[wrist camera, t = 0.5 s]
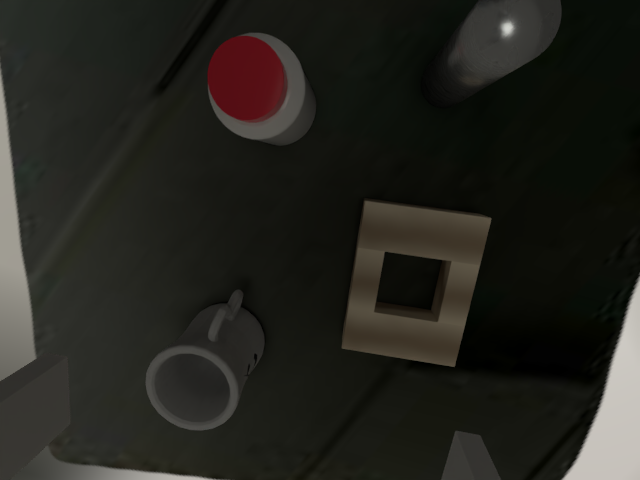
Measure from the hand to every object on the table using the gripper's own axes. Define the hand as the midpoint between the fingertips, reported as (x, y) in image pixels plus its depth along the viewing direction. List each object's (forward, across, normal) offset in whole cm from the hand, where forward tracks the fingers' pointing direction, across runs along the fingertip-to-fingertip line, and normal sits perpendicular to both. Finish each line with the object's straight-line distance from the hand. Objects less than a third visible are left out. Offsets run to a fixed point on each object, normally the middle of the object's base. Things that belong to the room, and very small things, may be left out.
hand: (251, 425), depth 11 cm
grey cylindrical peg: (+26, +10, +18) cm, 33 cm away
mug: (+26, -9, -12) cm, 30 cm away
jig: (+26, +10, -2) cm, 28 cm away
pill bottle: (+26, -6, +13) cm, 30 cm away
